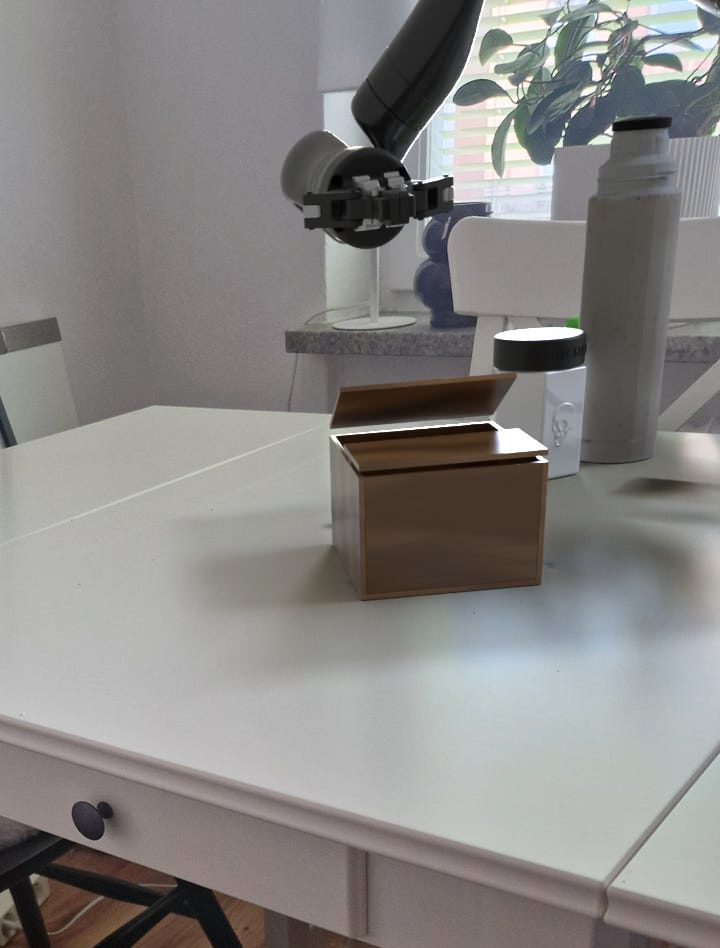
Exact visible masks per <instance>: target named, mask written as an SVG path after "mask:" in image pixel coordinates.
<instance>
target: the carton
mask: <svg viewBox="0 0 720 948" xmlns="http://www.w3.org/2000/svg"><path fill="white" fill-rule="evenodd" d="M328 439H329V440H328V441H329V445H328V446H329V473H330V476H329V477H330V505H331V506H330V508H331V543H332V545H333V547H334V549H335V551H336V553H337V556H338V557H339V560H340V561H341V563H342V565H343V567H344V569H345V571H346V573H347V575H348V578H349V579H350V581H351V583H352V585H353V587H354V590H355V592H356V593H357V595H358V597H359V599H360V601H372V600H383V599H393V598H403V597H413V596H414V597H416V596H426V595H437V594H438V595H439V594H448V593H458V592H459V593H460V592H461V593H462V592H471V591H482V590H493V589H504V588H506V589H507V588H513V587H514V588H515V587H527V586H538V585H542V576H543V575H542V573H543V561H544V560H543V559H544V545H545V544H544V541H545V529H546V528H545V527H546V512H547V499H548V498H547V496H548V483H549V482H548V481H549V480H548V466H549V462H548V461H547V460H545V459H544V458H543V457H541V456H545V455H548V449H547V448H546V447H544V446H543V445H541V444H540V443H538V442H537V441H536V440H534V439H533V438H531V437H530V436H528V435H527V434H525V433H524V432H522V431H521V430H520V429H511V430H504V429H502V428H501V427H500V426H498V425H497V424H495V423H494V422H493V421H490V420H489V421H482V422H481V421H480V422H479V421H478V422H470V423H467V422H466V423H457V424H446V425H434V426H433V425H432V426H423V427H412V428H400V429H387V430H376V431H365V432H353V433H341V434H330V435H329V436H328Z"/></svg>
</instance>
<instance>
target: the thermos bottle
mask: <svg viewBox="0 0 720 948" xmlns="http://www.w3.org/2000/svg"><path fill="white" fill-rule="evenodd" d="M672 123H673V117H672V116H660V115H650V116H649V115H648V116H637V117H631V118H624V119H620V120H617V121H613V122H612V123H611V132H612V137H611V140H610V143H609V154H608V155H609V156H608V158H607V159H606V160H605V161H604V162H602V163H601V164H600V165H599V166H598V168H597V177H596V178H595V181H596V189H595V190H596V191H595V192H594V193H592V194H590V195H588V197H587V204H586V205H587V206H586V218H585V219H586V220H585V235H584V236H585V237H584V248H583V249H584V250H583V263H582V273H581V274H582V275H581V289H580V291H581V292H580V305H579V315H580V317H579V329H580V330H583V331H585V332H586V333H587V337H586V343H587V349H586V354H585V362H584V363H583V364H584V365H585V366H586V367H587V370H586V383H585V396H584V409H583V422H582V435H581V447H580V460H579V461H582V462H587V463H597V464H622V463H624V464H625V463H633V462H638V461H643V460H647V459H650V458H652V457H653V456H654V455H655V453H656V447H657V446H656V443H657V437H658V435H657V434H658V427H659V416H660V408H661V407H660V406H661V397H662V389H663V388H662V387H663V379H664V378H663V377H664V370H665V369H664V368H665V361H666V350H667V343H668V342H667V341H668V332H669V323H670V313H671V305H672V304H671V303H672V295H673V285H674V276H675V266H676V257H677V249H678V247H677V246H678V236H679V227H680V220H681V210H682V209H681V208H682V202H683V201H682V200H683V189H681V188H679V187H676V177H677V172H678V171H679V168H678V167H677V166H678V160H677V159H676V158H674V157H673V156H672V155H670V154H669V144H670V142H669V141H670V135H669V128H671V127H672Z"/></svg>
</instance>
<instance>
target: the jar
mask: <svg viewBox="0 0 720 948" xmlns="http://www.w3.org/2000/svg"><path fill="white" fill-rule="evenodd" d="M586 337H587V333H586V332H585V331H583V330H580V329H572V328H565V327H536V328H535V327H534V328H523V329H514V330H507V331H504V332H500V333H497V334H496V335H494V337H493V352H492V353H493V354H492V365H491V369H490V370H491V371H490V374H501V373H512V372H517V378H516V380H515V381H514V383H513V384H512V386H511V387H510V389H509V391H508V392H507V394H506V395H505V397H504V398H503V400H502V401H501V403H500V404H499V406H498V408H497V409H496V411H495V412H494V414H493V415H489V422H490V421H493V422H494V423H495V424H497V425H498V426H500V427H501V428H502V429H504V430H511V429H520V430H521V431H522V432H524V433H525V434H527V435H528V436H530V437H531V438H533V439H534V440H536V441H537V442H538V443H540V444H541V445H543V446H544V447H546V448H547V449H548V455H545V456H541V457H543V458H544V459H545V460H547V461H548V462H549V466H548V481H549V480H554V479H558V478H563V477H569V476H572V475H576V474H578V473H579V471H580V461H581V460H580V447H581V435H582V422H583V409H584V396H585V383H586V370H587V367H586V366H585V365H584V364H583V363H584V362H585V354H586V349H587V343H586Z"/></svg>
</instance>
